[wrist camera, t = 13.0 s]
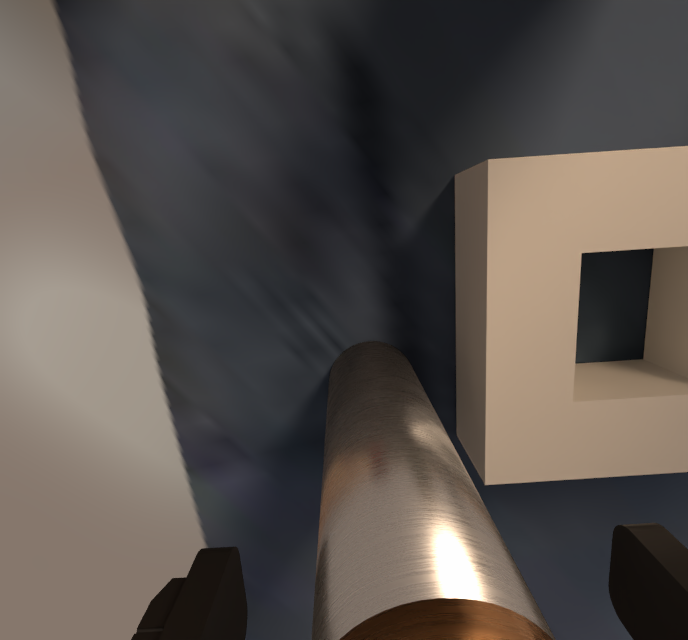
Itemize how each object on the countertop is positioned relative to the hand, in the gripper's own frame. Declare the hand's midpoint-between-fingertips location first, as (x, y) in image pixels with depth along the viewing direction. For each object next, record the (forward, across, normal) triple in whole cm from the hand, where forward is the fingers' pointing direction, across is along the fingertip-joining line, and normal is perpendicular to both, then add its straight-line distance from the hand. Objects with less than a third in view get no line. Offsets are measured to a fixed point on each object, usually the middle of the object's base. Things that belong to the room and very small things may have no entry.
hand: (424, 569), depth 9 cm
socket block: (+11, -10, -3) cm, 15 cm away
